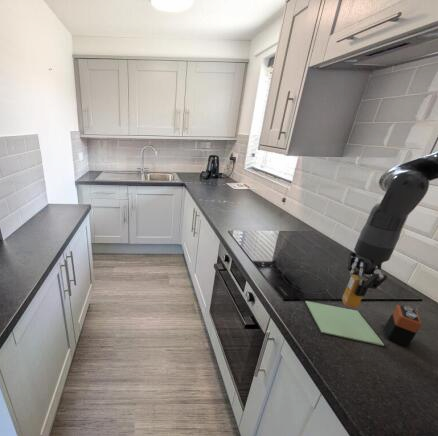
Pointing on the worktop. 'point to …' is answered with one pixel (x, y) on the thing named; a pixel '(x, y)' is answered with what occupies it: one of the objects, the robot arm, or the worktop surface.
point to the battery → (403, 325)
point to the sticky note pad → (342, 323)
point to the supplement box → (352, 292)
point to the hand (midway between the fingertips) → (355, 290)
